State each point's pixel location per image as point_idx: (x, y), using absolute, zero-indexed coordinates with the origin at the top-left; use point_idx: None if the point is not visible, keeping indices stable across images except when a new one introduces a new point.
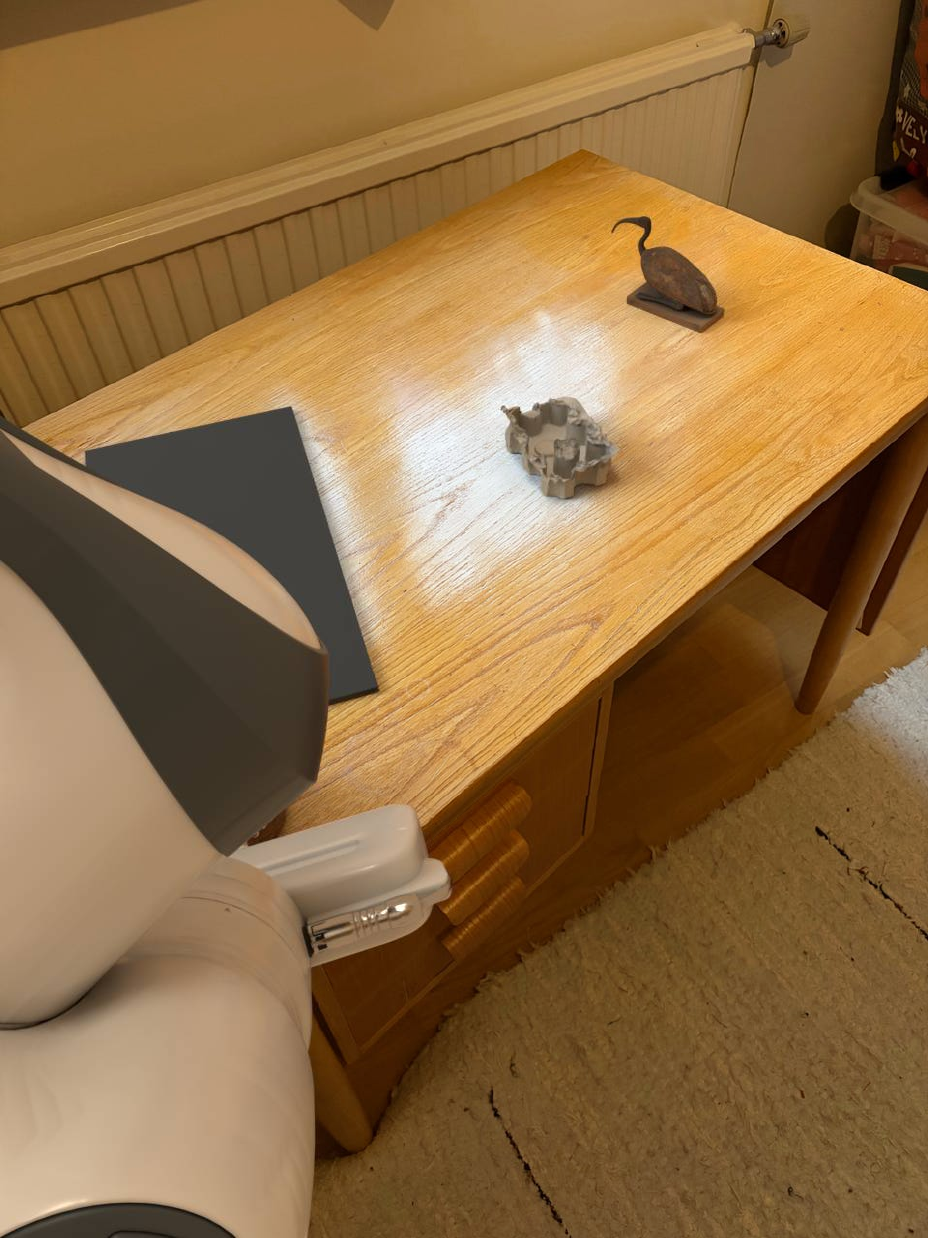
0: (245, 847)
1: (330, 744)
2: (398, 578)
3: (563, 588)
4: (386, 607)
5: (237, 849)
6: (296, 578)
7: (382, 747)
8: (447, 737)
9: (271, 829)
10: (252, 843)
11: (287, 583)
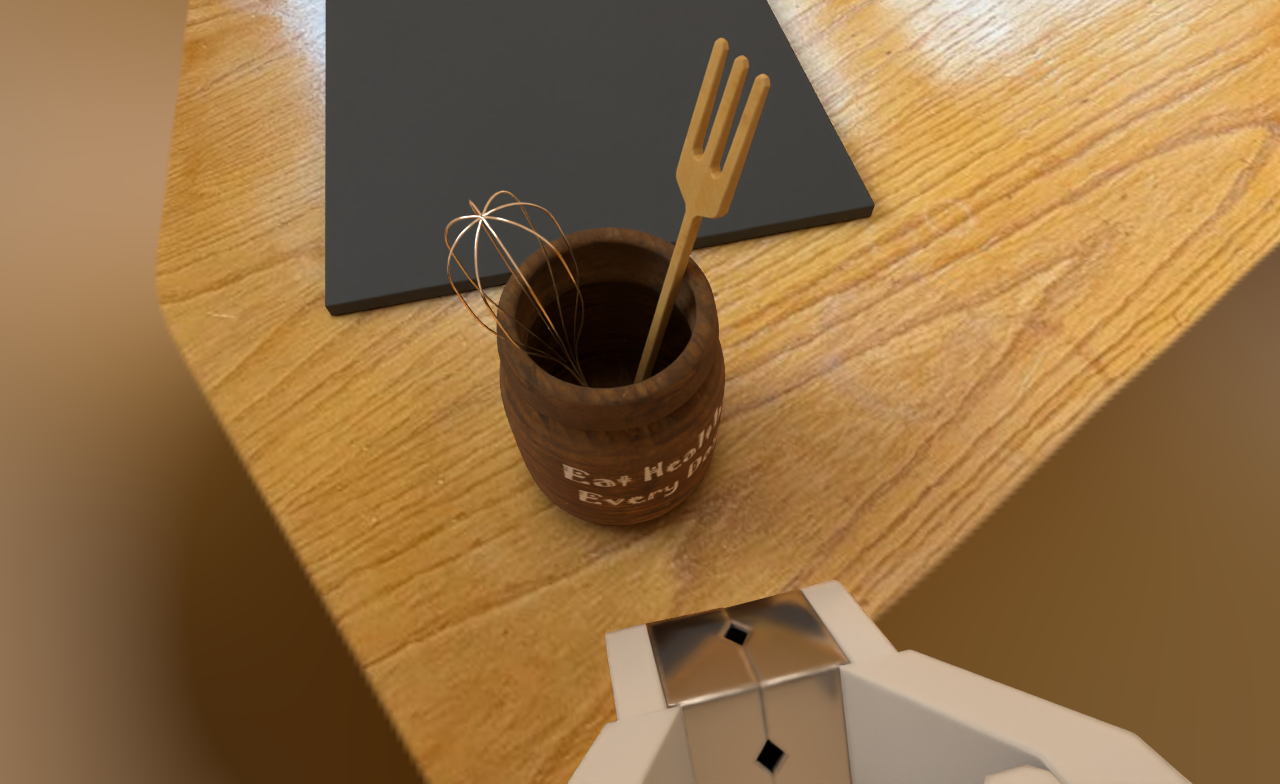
0: (939, 671)
1: (787, 308)
2: (872, 33)
3: (1191, 65)
4: (858, 76)
5: (888, 673)
6: (689, 17)
7: (897, 322)
8: (1031, 313)
9: (697, 477)
10: (656, 507)
11: (674, 23)
